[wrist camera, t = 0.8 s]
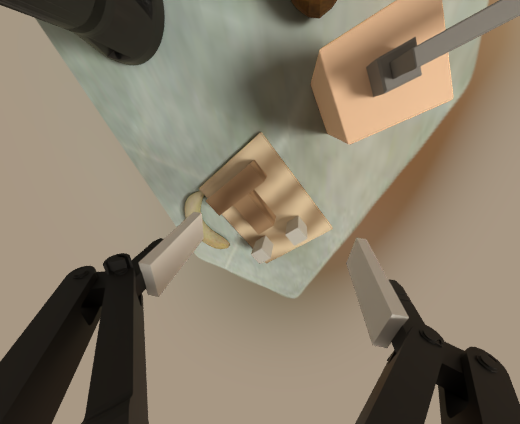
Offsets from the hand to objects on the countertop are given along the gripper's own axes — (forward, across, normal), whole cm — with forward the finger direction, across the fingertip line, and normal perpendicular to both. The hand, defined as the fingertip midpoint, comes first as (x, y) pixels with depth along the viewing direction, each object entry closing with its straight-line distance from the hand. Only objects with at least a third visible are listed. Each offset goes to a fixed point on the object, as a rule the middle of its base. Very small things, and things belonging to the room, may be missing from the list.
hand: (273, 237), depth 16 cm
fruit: (+24, -17, -15) cm, 33 cm away
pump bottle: (+24, +9, +14) cm, 29 cm away
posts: (+22, 0, -14) cm, 27 cm away
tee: (+23, -7, -7) cm, 25 cm away
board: (+24, -4, -9) cm, 25 cm away
